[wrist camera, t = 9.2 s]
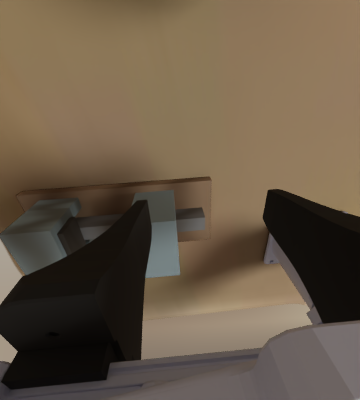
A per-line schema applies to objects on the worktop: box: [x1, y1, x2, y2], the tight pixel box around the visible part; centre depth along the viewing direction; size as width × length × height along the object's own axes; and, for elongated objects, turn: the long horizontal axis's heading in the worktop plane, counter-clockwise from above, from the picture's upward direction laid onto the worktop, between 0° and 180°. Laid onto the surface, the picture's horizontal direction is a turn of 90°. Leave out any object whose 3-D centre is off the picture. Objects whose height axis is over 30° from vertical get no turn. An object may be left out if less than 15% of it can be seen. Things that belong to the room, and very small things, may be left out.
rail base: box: [0, 177, 212, 275], centre depth 20 cm, size 20×8×6 cm, turn 93°
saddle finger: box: [132, 190, 180, 278], centre depth 19 cm, size 4×6×6 cm
